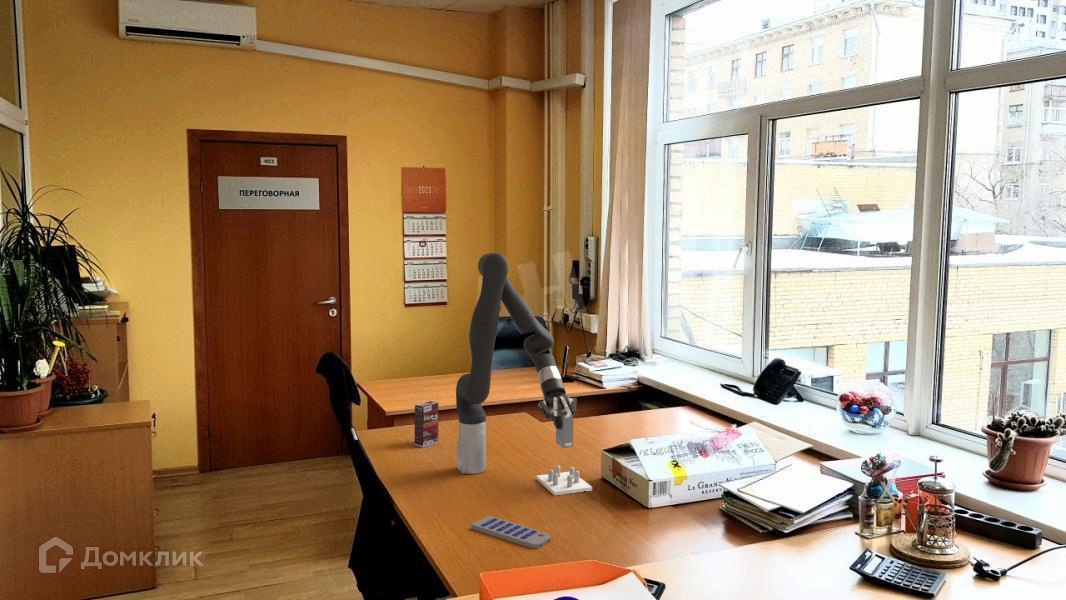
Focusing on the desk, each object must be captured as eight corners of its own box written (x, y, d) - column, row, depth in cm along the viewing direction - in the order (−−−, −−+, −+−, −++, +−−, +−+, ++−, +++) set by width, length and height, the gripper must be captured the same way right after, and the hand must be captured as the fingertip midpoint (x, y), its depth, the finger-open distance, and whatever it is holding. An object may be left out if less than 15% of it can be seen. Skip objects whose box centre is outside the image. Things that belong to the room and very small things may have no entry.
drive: (563, 448, 249) (563, 418, 248) (555, 442, 255) (556, 413, 254) (573, 447, 250) (573, 417, 249) (565, 441, 256) (565, 412, 255)
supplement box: (423, 448, 292) (422, 406, 290) (414, 445, 295) (413, 404, 293) (439, 443, 299) (439, 402, 297) (430, 440, 302) (430, 400, 300)
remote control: (489, 521, 225) (489, 514, 225) (553, 541, 212) (553, 533, 212) (471, 530, 219) (471, 523, 218) (536, 551, 205) (536, 543, 205)
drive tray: (554, 495, 245) (554, 481, 244) (536, 479, 259) (536, 465, 259) (592, 490, 249) (592, 476, 249) (571, 474, 264) (572, 461, 263)
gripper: (534, 378, 256) (548, 424, 246) (573, 375, 261) (588, 419, 251) (528, 390, 262) (541, 435, 252) (567, 387, 267) (581, 431, 257)
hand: (565, 427), depth 252 cm, fingers closed on drive, 3 cm apart
